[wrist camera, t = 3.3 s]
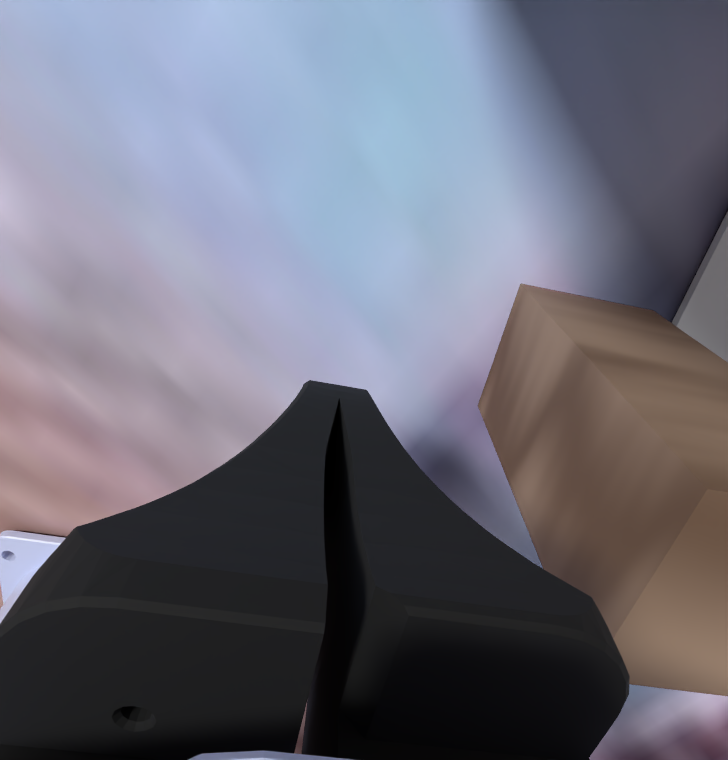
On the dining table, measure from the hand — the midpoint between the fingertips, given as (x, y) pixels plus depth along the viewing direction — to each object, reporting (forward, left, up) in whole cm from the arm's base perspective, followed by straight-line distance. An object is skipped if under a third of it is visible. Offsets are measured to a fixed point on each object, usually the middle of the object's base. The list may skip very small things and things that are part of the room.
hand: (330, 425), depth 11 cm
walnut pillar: (0, -8, -6) cm, 10 cm away
